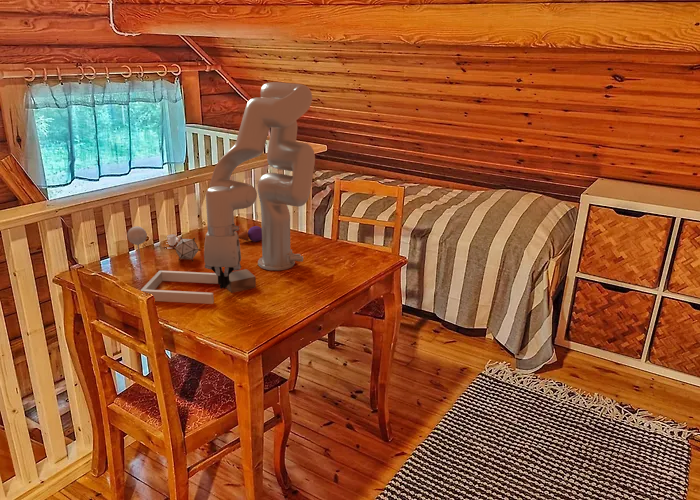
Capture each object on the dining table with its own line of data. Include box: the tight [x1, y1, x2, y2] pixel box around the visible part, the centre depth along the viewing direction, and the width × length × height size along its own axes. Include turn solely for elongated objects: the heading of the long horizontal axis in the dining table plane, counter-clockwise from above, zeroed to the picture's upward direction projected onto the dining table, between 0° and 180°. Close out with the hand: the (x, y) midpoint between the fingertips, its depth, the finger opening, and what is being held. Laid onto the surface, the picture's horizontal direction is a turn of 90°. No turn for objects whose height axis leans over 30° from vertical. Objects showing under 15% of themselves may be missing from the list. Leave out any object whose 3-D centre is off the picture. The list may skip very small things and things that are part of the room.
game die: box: [172, 236, 201, 262], centre depth 195 cm, size 9×8×10 cm
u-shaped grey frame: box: [140, 270, 218, 305], centre depth 172 cm, size 21×15×3 cm
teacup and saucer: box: [166, 233, 180, 250], centre depth 209 cm, size 9×8×4 cm
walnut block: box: [226, 268, 257, 294], centre depth 177 cm, size 8×7×4 cm
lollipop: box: [126, 225, 148, 271], centre depth 184 cm, size 6×6×15 cm
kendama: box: [238, 225, 262, 243], centre depth 213 cm, size 6×6×20 cm
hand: (223, 286), depth 171 cm, fingers closed
